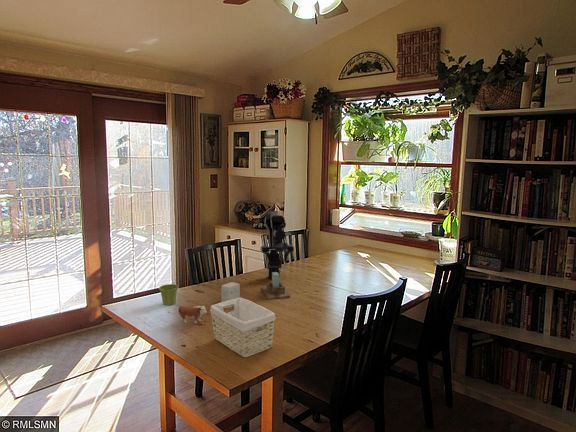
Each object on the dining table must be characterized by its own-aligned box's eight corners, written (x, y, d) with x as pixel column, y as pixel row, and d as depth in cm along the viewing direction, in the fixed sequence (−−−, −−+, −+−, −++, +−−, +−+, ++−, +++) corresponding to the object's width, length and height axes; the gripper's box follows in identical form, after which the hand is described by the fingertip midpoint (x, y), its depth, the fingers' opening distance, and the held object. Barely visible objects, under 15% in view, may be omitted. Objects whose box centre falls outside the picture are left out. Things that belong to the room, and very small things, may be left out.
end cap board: (268, 299, 212) (268, 290, 211) (261, 288, 229) (261, 280, 228) (290, 297, 215) (290, 289, 214) (282, 287, 232) (282, 279, 231)
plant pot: (171, 307, 198) (170, 290, 197) (155, 305, 201) (155, 288, 200) (182, 301, 207) (182, 285, 205) (167, 299, 210) (166, 283, 209)
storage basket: (277, 348, 157) (277, 312, 155) (243, 361, 147) (243, 323, 145) (241, 328, 175) (241, 296, 173) (209, 339, 164) (208, 304, 162)
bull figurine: (205, 325, 178) (205, 307, 177) (177, 323, 180) (176, 305, 179) (209, 321, 182) (209, 304, 181) (181, 319, 184) (181, 302, 183)
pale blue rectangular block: (273, 292, 219) (273, 274, 218) (271, 289, 224) (272, 272, 222) (279, 292, 220) (279, 274, 218) (277, 289, 224) (277, 272, 223)
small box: (232, 301, 208) (231, 281, 207) (240, 303, 205) (240, 283, 204) (221, 305, 202) (220, 285, 200) (229, 308, 199) (229, 287, 197)
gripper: (264, 240, 223) (264, 267, 225) (296, 238, 227) (296, 265, 229) (260, 236, 233) (260, 262, 236) (291, 235, 238) (291, 260, 240)
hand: (277, 262), depth 235 cm, fingers open, 9 cm apart
